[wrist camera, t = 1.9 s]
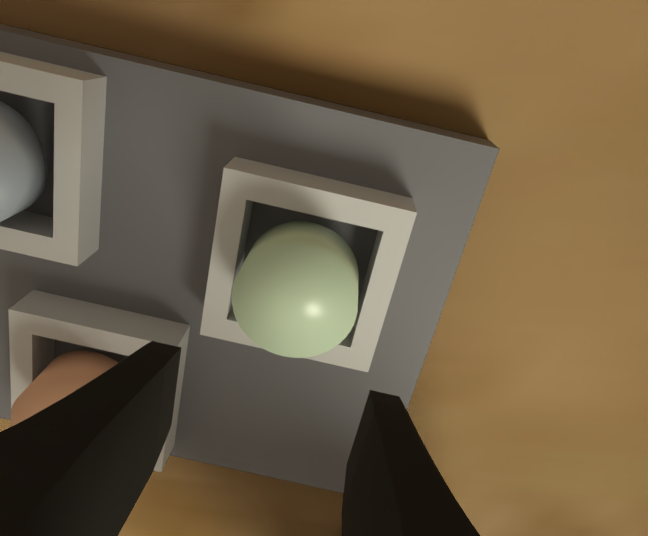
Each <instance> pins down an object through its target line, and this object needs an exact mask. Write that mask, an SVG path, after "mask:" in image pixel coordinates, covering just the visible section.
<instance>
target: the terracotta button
mask: <svg viewBox="0 0 648 536" xmlns="http://www.w3.org/2000/svg"><path fill="white" fill-rule="evenodd" d="M116 364H118V362H117V361H115V360H114V359H112V358H110V357H108V356H106V355H103V354H101V353H97V352H93V351H84V350H79V351H71V352H67V353H64V354H62V355H60V356H58V357H57V358H55V359H54V360H53V361H52V362H51V363H50V364H49V365H48V366H47V367H46V368H45V369H44V370H43V371H42V372H41V373H40V375H39V376H38V377H37V378H36V379H35V380H34V381H33V382H32V383H31V384H30V385H29V386H28V387H27V388H26V389H25V390H24V391H23V392H22V393H21V394H20V396H19V397H18V398H17V399H16V400H15V402H14V404H13V406H12V409H11V417H10V418H11V425H12V426H14V425H16V424H18V423H20V422H22V421H23V420H25V419H27V418H29V417H31V416H32V415H34V414H36V413H38V412H40V411H41V410H43V409H45V408H47V407H48V406H50V405H52V404H54V403H55V402H57V401H59V400H61V399H62V398H64V397H66V396H67V395H69V394H71V393H72V392H74V391H76V390H77V389H79V388H80V387H82V386H84V385H85V384H87V383H88V382H90V381H91V380H93V379H95V378H96V377H98V376H99V375H101V374H102V373H104V372H106V371H107V370H109V369H110V368H112V367H113V366H115V365H116Z"/></svg>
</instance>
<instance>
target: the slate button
mask: <svg viewBox="0 0 648 536" xmlns="http://www.w3.org/2000/svg"><path fill="white" fill-rule="evenodd" d="M46 180H47V160H46V155H45V152H44V149H43V146H42V144H41V141H40V139H39V137H38V136H37V134H36V132H35V131H34V129H33V128H32V127H31V125H30V124H29V123H28V122H27V121H26V120H25V119H24V117H22V116H21V115H20V114H19V113H18V112H17V111H15V110H14V109H13V108H11V107H10V106H8V105H7V104H5V103H3V102H1V101H0V222H1V221H3V220H5V219H7V218H9V217H11V216H13V215H15V214H17V213H19V212H21V211H23V210H25V209H26V208H28V207H30V206H31V205H32V204H33V203H35V202H36V200H37V199H38V198H39V197H40V195H41V194H42V192H43V190H44V187H45V184H46Z"/></svg>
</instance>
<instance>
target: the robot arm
mask: <svg viewBox="0 0 648 536" xmlns="http://www.w3.org/2000/svg"><path fill="white" fill-rule="evenodd" d="M181 348H182V347H177V346H173V345H168V344H164V343H159V342H155V341H151V342H149V343H148V344H146V345H144V346H143V347H141V348H140V349H138V350H137V351H135V352H134V353H132V354H131V355H129V356H128V357H126V358H125V359H123V360H122V361H121V362H119V363H118V364H116V365H115V366H113V367H112V368H110V369H109V370H107V371H106V372H104V373H102V374H101V375H99V376H98V377H96V378H95V379H93V380H91V381H90V382H88V383H87V384H85V385H84V386H82V387H80V388H79V389H77V390H76V391H74V392H72V393H71V394H69V395H67V396H66V397H64V398H62V399H61V400H59V401H57V402H55V403H54V404H52V405H50V406H48V407H47V408H45V409H43V410H41V411H40V412H38V413H36V414H34V415H32V416H31V417H29V418H27V419H25V420H23V421H22V422H20V423H18V424H16V425H14V426H12V427H10V428H8V429H6V430H4V431H2V432H0V536H118V534H119V532H120V530H121V529H122V527H123V525H124V523H125V521H126V520H127V518H128V516H129V514H130V512H131V511H132V509H133V507H134V505H135V503H136V501H137V500H138V498H139V496H140V494H141V492H142V490H143V489H144V487H145V485H146V483H147V481H148V479H149V478H150V476H151V474H152V472H153V470H154V468H155V465H156V463H157V460H158V458H159V456H160V453H161V451H162V448H163V446H164V443H165V441H166V438H167V436H168V433H169V431H170V428H171V425H172V418H173V410H174V402H175V394H176V386H177V379H178V371H179V363H180V355H181ZM342 536H480V535H479V533H478V532H477V531H476V529H475V528H474V526H473V525H472V524H471V522H470V521H469V519H468V518H467V516H466V514H465V513H464V511H463V510H462V508H461V507H460V505H459V504H458V502H457V501H456V499H455V497H454V496H453V494H452V493H451V491H450V489H449V488H448V486H447V484H446V483H445V481H444V479H443V477H442V476H441V474H440V472H439V471H438V469H437V467H436V465H435V464H434V462H433V460H432V458H431V457H430V455H429V453H428V451H427V449H426V447H425V445H424V444H423V442H422V440H421V438H420V436H419V434H418V432H417V430H416V428H415V426H414V424H413V422H412V420H411V418H410V416H409V414H408V412H407V410H406V408H405V406H404V404H403V402H402V400H401V399H400V397H399V396H395V395H391V394H386V393H382V392H377V391H373V390H370V391H369V395H368V398H367V401H366V404H365V407H364V411H363V414H362V417H361V420H360V423H359V427H358V430H357V433H356V436H355V439H354V443H353V446H352V449H351V452H350V455H349V459H348V462H347V466H346V475H345V485H344V495H343V505H342Z"/></svg>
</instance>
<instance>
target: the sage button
mask: <svg viewBox="0 0 648 536" xmlns="http://www.w3.org/2000/svg"><path fill="white" fill-rule="evenodd" d="M358 284H359V272H358V265H357V261H356V258H355V256H354V253H353V252H352V250H351V248H350V247H349V245H348V244H347V243H346V241H345V240H344V239H343V238H342V237H341V236H339V235H338V234H337V233H336V232H334V231H332V230H331V229H329V228H327V227H325V226H323V225H320V224H317V223H313V222H307V221H293V222H287V223H283V224H280V225H277V226H275V227H273V228H271V229H269V230H268V231H266V232H265V233H264V234H263V235H261V236H260V237H259V238H258V240H257V241H256V242H255V243H254V245H253V247H252V248H251V250H250V252H249V254H248V256H247V258H246V259H245V261H244V263H243V265H242V267H241V269H240V271H239V273H238V275H237V277H236V279H235V282H234V285H233V289H232V307H233V312H234V315H235V318H236V320H237V322H238V324H239V326H240V327H241V329H242V330H243V332H244V333H245V334H246V335H247V336H248V337H249V338H250V339H251V340H252V341H253V342H254V343H256V344H257V345H258V346H260V347H261V348H263V349H265V350H267V351H269V352H271V353H274V354H277V355H280V356H285V357H291V358H306V357H312V356H316V355H320V354H323V353H325V352H327V351H329V350H331V349H333V348H334V347H336V346H337V345H338V344H340V343H341V342H342V341H343V340H344V339H345V338H346V336H347V335H348V334H349V332H350V331H351V329H352V327H353V325H354V323H355V320H356V316H357V312H358Z"/></svg>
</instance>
